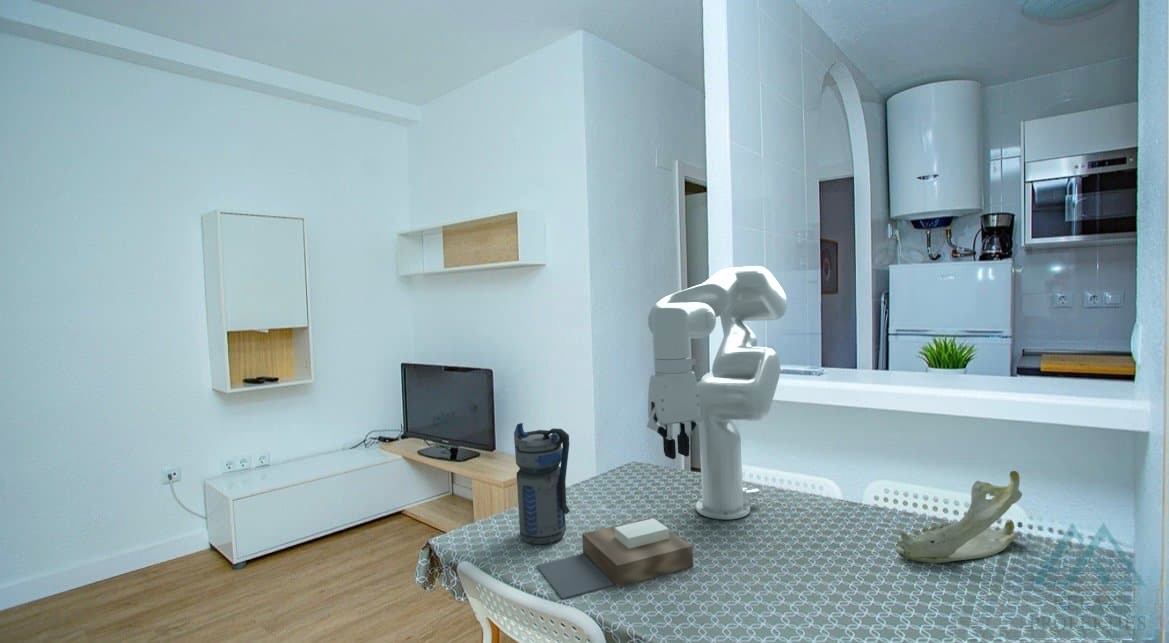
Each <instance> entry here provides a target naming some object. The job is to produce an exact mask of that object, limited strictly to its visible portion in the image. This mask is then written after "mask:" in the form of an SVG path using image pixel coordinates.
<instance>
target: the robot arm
mask: <svg viewBox="0 0 1169 643" xmlns="http://www.w3.org/2000/svg"><path fill="white" fill-rule="evenodd" d="M787 301H788V300H787V296H786V293H785V292H784V289H783V288H782V287H781V285H780V284H779V282H778V281H777V279H776V278H775V277H774V275H773V274H772V273H771V272H770V270H768V269H766V268H765V267H763V266H758V265H755V266H754V265H753V266H742V267H741V266H740V267H739V266H738V267H729V268H724V269H721V270H719V271H717V272H716V273H715V274H714V275H712V276H711V277H710V278H708V279H707V280H706V281H704V282H703V283H701V284H698V285H695V286H692V287H688V288H686V289H684V290H683V289H682V290H679V291H677V292H676V291H675V292H674V293H672V294H669V295H667V296H664V297H663V298H661V299H660V300H659V301H657V302H656V303H655V304H654V305H653V306H652V308H651V309H650V311H649V313H648V317H647V325H648V329H649V331H650V333H651V334H652V345H653V347H652V348H653V368H654V373H650V378H649V383H648V392H647V393H648V394H647V395H648V396H647V416H648V422H647V425H646V428H647V429H649V430H651V431H654V432H656V433H658V435H659V436H660V437H661V438H662V444H663V445H662V446H663V453H664V456H665V457H666V458H669V459H671V460H675V459H676V458H677V454H676V453H678V454H679V455H681V456H683V457H686V458H688V457H689V456H690V449H691V446H690V445H691V444H690V437H692V435H693V434H692V432H694V429H695V428H696V427H697V426H698V436H699V452H700V453H699V455H700V456H699V457H700V477H701V478H700V479H701V498H700V499H699V500H698V501H696V503H695V510H696V511H697V513H699V515H702V516H704V517H707V518H710V519H716V520H736V519H740V518H741V519H742V518H744V517H746V516H748V515H749V514H750V512H751V504H750V503H748V501H749V500H750V499H751V498H752V499H753V498H756V497H757V498H758V497H760V494H761V493H760V490H759V489H758V488H753V489H748V488H747V487H744V485H743V484H744V482H743V466H742V464H743V463H742V462H743V461H742V460H743V459H742V458H743V456H742V438H741V434H740V431H739V430H738V427H737V426H736V425H735V423H734V422H733V421H745V422H747V421H748V422H761V421H763V420H764V419H765V418H767V416H768V414H769V412H770V410H771V406H772V404H773V399H774V397H775V393H776V391H777V386H778V383H779V380H780V377H781V376H780V374H781V362H780V357H779V355H778V353H777V352H776V351H775V350H774V349H773V348H770V347H766V346H764V347H763V346H758V339H757V337H756V335H755V333H754V332H753V331H752V330H751V328H750V327H749V326H748V325H746V324H745V321H746V322H747V321H748V322H749V321H753V322H754V321H777V320H779V319H781V318H782V317H783V316H784V315H785V314H786V311H787V309H788V308H787V305H788V303H787ZM717 317H719V318H720V323H721V328H722V332H723V337H722V340H721V343H720V346H719V348H718V350H717V353H716V354H715V358H714V360H713V363H712V367H711V372H712V376H713V377H707V378H703V379H701V380H699V381H697V377H696V373H695V371H693V366H695V365H696V364H697V360H696V358H693V357H692V341H691V339H703V338H706V337H708V336H710V335H711V334H712V332H713V331H714V330H715V328H716V325H717V324H716V323H717ZM658 424H659V425H658ZM675 424H678V430H679V433H678V434H677V436H676V437H677V439H676V440H677V450H676V440H675V439H674V438H673V425H675ZM676 451H677V452H676Z"/></svg>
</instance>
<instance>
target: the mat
mask: <svg viewBox="0 0 1169 643" xmlns="http://www.w3.org/2000/svg"><path fill="white" fill-rule="evenodd" d="M536 568H537V569H538V570H539V572H540V573H541V574H542V575H543V577H544V578H545V579H546V581H547V582H548V583H549V584H550V585H551V587H552V589H554V590H555V592H556V593H557V594H558V596H559V598H561V600H562V601H563V600H566V599H569V598H573V597H577V596H581V595H585V594H588V593H591V592H594V591H598V590H602V589H606V588H609V587H613V586H614V587H615V584H614V583H613V582H612V581H611V580H610V579H609V578H608V577H607V576H606V575H605V574H604V573H603V572H602V571H601V570H600V569H599V568H598V567H597V566H596V565H595V564H594V563H593V562H592V561H591V560H590V559H589V558H588V557H587V556H586V555H585V554H584V553H580V554H576V555H572V556H568V557H563V558H559V559H556V560H552V561H548V562H544V563H540V564H536Z"/></svg>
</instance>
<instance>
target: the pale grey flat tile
mask: <svg viewBox="0 0 1169 643" xmlns="http://www.w3.org/2000/svg"><path fill="white" fill-rule="evenodd" d="M614 530H615V538H616V539H618V540H619V541H620V542H621V543H623V544H624V545H625V546H626V547H627V548H629V549H630V548H634V547H638V546H642V545H646V544H650V543H654V542H658V541H662V540H665V539H669V531H670V528H669V527H667V526H666V525H664V524H663V523H661V522H660V521H658V520H656V519H655V518H651V519H649V520H644V521H640V522H636V523H631V524H627V525H623V526H618V527H614Z"/></svg>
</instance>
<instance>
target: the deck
mask: <svg viewBox="0 0 1169 643" xmlns="http://www.w3.org/2000/svg"><path fill="white" fill-rule="evenodd" d="M649 519H652V518H651V517H648V518H644V519H638V520H636V521H630V522H627V523H622V524H618V525H613V526H609V527H605V528H600V529H596V530H593V531H592V530H591V531H588V532H583V533H581V534H582V535H581V538H582V554H584V555H585V556H586V555H587V556H586V557H587V558H588V559H589V560H590V561H591V562H592V563H593V564H594V565H595V566H596V567H597V568H598V569H599V570H600V571H601V572H602V573H603V574H604V575H605V576H606V577H607V578H608V579H609V580H610V581H612V582H613V583H614V585H615V586H616V587H617V588H621V587H625V586H628V585H632V584H635V583H638V582H642V581H646V580H651V579H654V578H657V577H661V576H665V575H667V574H671V573H675V572H678V570H679V571H682V570H685V569H688V568H692V567H694V559H693V557H694V556H693V554H694V553H693V545H692V544H690V543H689V542H688V541H685V540H684V539H683V538H681V537H680V536H678V535H677V534H675V533H674V532H672V531H670V530H669V539H665V540H662V541H658V542H654V543H650V544H646V545H642V546H638V547H634V548H630V549H629V548H627V547H626V546H625V545H624V544H623V543H621V542H620V541H619V540H618V539H616V538H615V530H614V527H618V526H623V525H627V524H631V523H636V522H640V521H644V520H649ZM674 571H675V572H674Z"/></svg>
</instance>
